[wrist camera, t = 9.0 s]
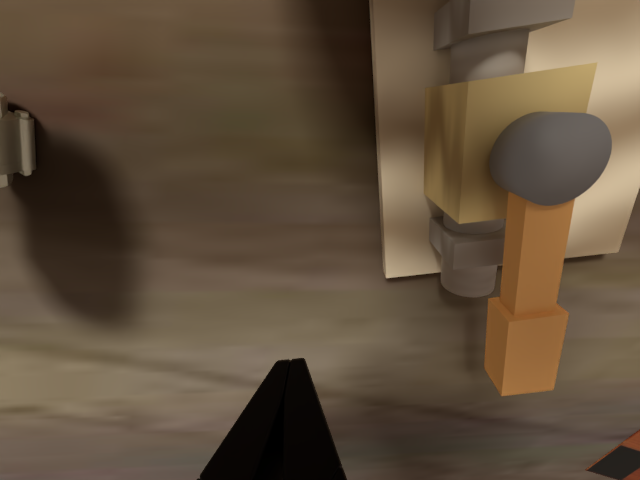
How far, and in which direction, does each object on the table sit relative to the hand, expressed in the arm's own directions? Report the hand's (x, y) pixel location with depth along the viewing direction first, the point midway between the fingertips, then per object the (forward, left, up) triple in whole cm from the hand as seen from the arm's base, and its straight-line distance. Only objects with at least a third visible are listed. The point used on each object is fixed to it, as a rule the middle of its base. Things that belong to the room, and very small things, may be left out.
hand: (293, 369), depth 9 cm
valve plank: (-4, +13, -13) cm, 19 cm away
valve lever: (+1, +10, -6) cm, 12 cm away
